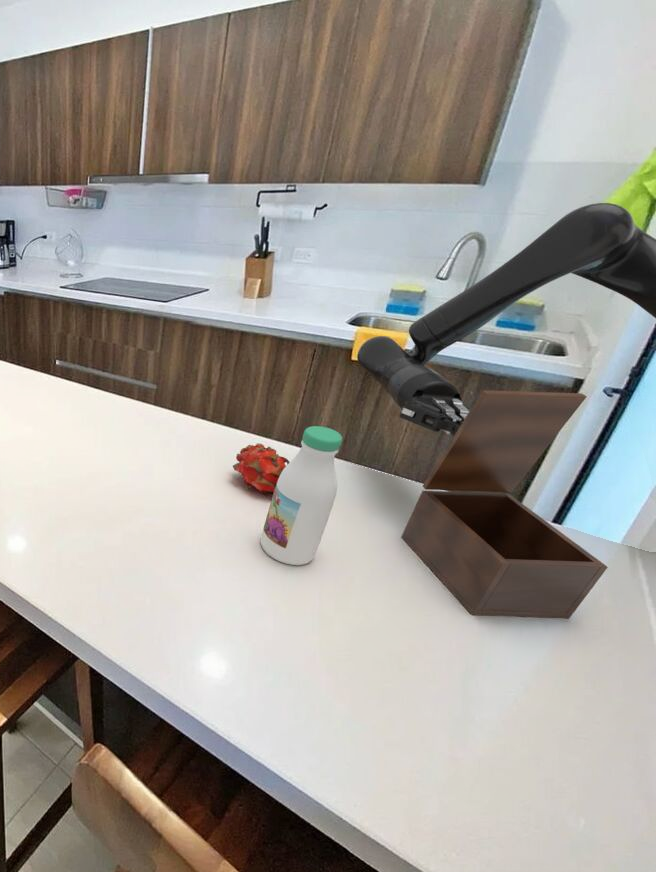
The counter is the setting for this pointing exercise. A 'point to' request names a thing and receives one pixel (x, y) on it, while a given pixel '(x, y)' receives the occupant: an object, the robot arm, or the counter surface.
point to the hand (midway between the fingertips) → (475, 440)
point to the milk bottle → (303, 499)
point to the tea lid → (501, 440)
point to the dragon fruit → (260, 467)
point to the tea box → (500, 555)
